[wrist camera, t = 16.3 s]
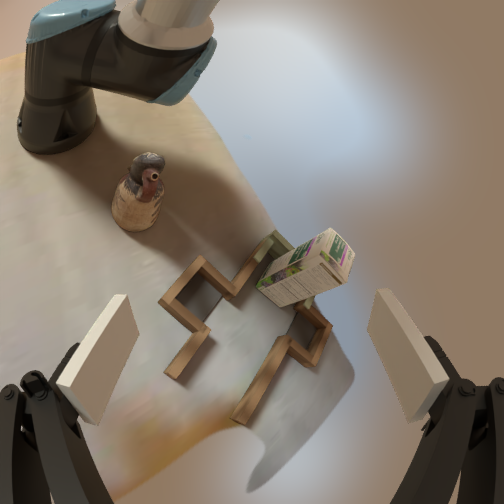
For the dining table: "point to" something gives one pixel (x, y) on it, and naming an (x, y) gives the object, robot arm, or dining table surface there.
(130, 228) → the figurine
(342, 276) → the syrup box
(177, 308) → the channel
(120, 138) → the dining table surface
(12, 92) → the dining table surface
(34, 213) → the dining table surface
